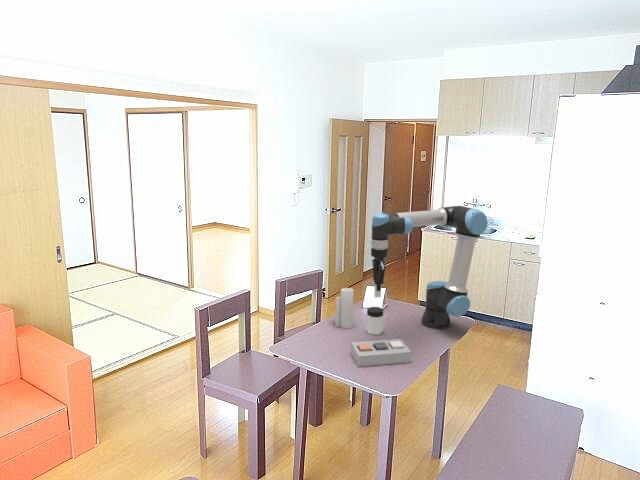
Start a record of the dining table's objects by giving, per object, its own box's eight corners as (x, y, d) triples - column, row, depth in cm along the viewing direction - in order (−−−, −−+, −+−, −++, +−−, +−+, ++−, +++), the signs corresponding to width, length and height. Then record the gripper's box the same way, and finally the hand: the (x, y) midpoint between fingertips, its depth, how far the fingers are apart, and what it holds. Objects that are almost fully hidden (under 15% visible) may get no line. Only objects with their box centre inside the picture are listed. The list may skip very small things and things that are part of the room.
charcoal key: (383, 348, 217) (384, 342, 216) (387, 353, 212) (387, 346, 212) (373, 349, 216) (373, 343, 215) (376, 354, 211) (377, 347, 211)
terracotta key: (368, 349, 216) (368, 343, 215) (371, 354, 211) (371, 348, 210) (357, 350, 215) (357, 344, 214) (360, 355, 210) (360, 349, 209)
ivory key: (399, 347, 218) (399, 341, 218) (403, 351, 214) (403, 345, 213) (389, 347, 217) (389, 341, 217) (392, 352, 213) (393, 346, 212)
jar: (363, 329, 245) (364, 307, 243) (377, 327, 249) (377, 305, 246) (371, 336, 237) (372, 313, 235) (385, 333, 241) (386, 311, 238)
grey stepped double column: (355, 325, 250) (356, 289, 246) (346, 329, 245) (347, 292, 241) (338, 320, 258) (339, 285, 253) (330, 323, 252) (330, 288, 248)
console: (399, 348, 224) (400, 338, 223) (410, 362, 210) (411, 351, 209) (350, 352, 219) (350, 342, 218) (358, 366, 206) (359, 356, 205)
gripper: (367, 245, 223) (365, 292, 228) (375, 251, 210) (374, 301, 215) (382, 244, 224) (380, 291, 229) (391, 251, 212) (389, 300, 217)
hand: (377, 296), depth 222 cm, fingers closed
